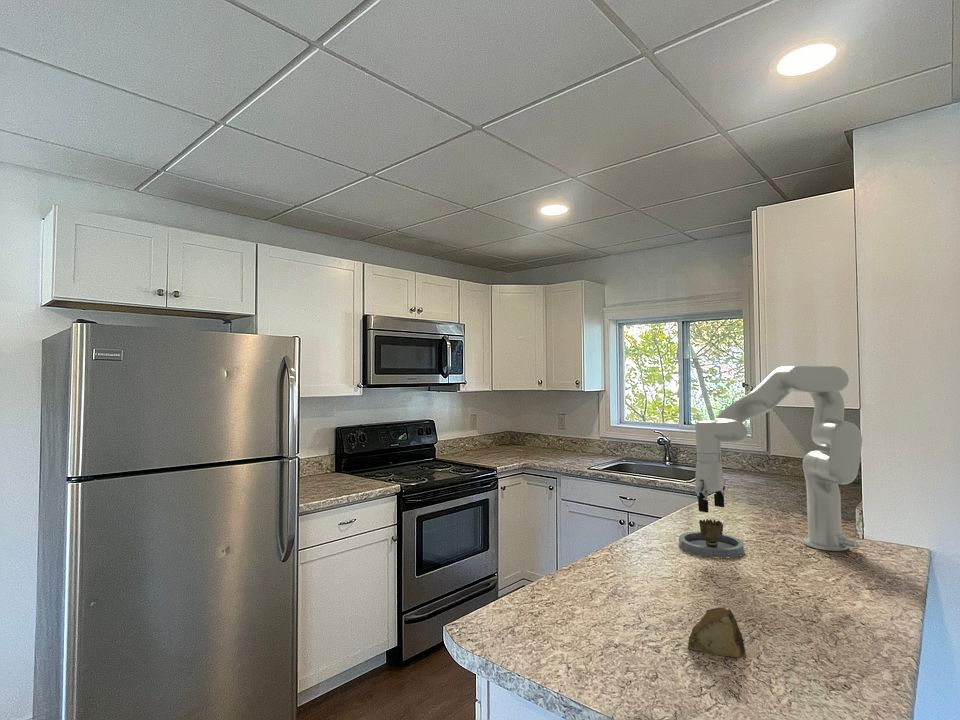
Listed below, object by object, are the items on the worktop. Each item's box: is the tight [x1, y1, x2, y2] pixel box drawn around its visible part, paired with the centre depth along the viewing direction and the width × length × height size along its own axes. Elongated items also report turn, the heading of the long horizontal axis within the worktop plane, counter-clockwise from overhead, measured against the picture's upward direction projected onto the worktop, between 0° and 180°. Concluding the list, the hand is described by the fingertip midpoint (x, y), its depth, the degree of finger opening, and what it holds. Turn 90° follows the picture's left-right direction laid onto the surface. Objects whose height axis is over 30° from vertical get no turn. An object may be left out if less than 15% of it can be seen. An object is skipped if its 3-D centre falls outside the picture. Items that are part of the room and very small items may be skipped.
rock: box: [687, 606, 747, 659], centre depth 110 cm, size 11×9×10 cm
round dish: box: [678, 531, 746, 559], centre depth 174 cm, size 20×20×3 cm
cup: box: [698, 518, 724, 547], centre depth 175 cm, size 8×7×8 cm
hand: (711, 509), depth 175 cm, fingers open, 9 cm apart
